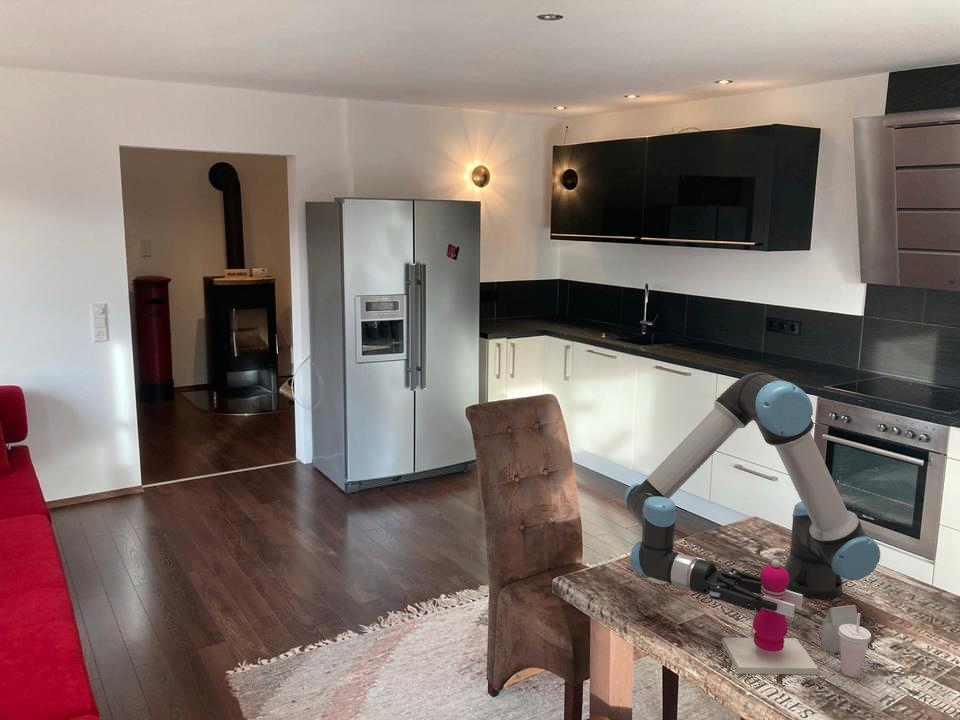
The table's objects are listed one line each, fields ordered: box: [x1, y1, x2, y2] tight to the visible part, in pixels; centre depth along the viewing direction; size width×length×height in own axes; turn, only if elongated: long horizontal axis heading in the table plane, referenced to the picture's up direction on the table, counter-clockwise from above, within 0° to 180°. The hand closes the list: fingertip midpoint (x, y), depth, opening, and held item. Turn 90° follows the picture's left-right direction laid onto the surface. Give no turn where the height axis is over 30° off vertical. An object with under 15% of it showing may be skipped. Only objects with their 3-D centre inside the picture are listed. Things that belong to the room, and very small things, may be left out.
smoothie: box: [838, 612, 872, 678], centre depth 167 cm, size 6×6×14 cm
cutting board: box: [721, 637, 819, 676], centre depth 173 cm, size 17×12×2 cm
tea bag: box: [820, 604, 860, 654], centre depth 177 cm, size 4×7×10 cm, turn 104°
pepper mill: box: [752, 559, 789, 652], centre depth 171 cm, size 7×7×20 cm
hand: (797, 606), depth 167 cm, fingers closed on pepper mill, 5 cm apart
